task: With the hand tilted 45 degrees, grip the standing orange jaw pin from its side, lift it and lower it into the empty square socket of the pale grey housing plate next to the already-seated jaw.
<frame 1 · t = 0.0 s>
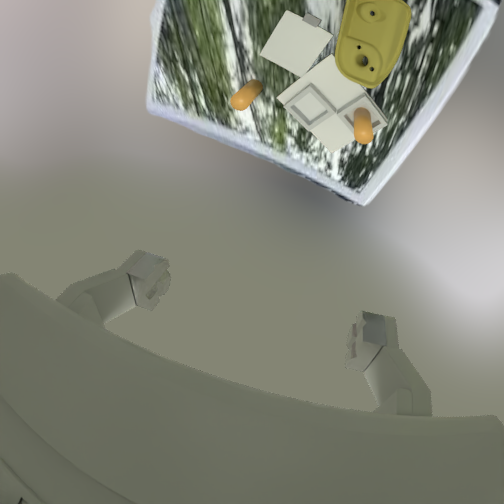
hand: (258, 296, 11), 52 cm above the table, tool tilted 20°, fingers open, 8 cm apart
housing: (332, 105, 50), on the table
jaw pin: (254, 86, 52), on the table
lid: (295, 43, 41), on the table
plastic component: (369, 33, 35), on the table
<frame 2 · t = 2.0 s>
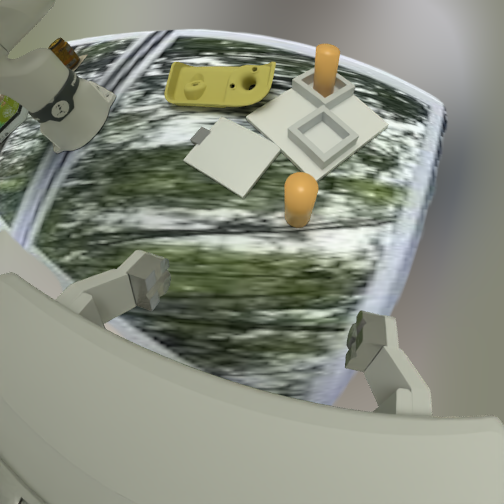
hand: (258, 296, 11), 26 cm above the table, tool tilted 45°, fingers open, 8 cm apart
housing: (319, 121, 41), on the table
condiment: (74, 64, 55), on the table
tea box: (16, 122, 55), on the table
jaw pin: (297, 215, 38), on the table
lid: (232, 155, 41), on the table
plastic component: (223, 93, 44), on the table
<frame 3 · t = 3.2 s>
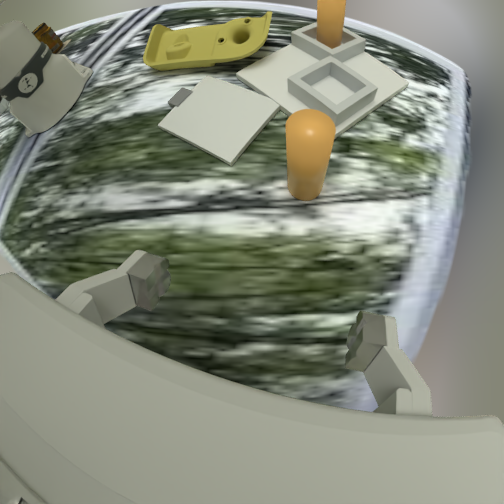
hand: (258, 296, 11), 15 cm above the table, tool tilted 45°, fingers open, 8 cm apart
housing: (326, 76, 30), on the table
condiment: (57, 50, 46), on the table
jaw pin: (304, 184, 27), on the table
lid: (218, 115, 31), on the table
plastic component: (211, 54, 34), on the table
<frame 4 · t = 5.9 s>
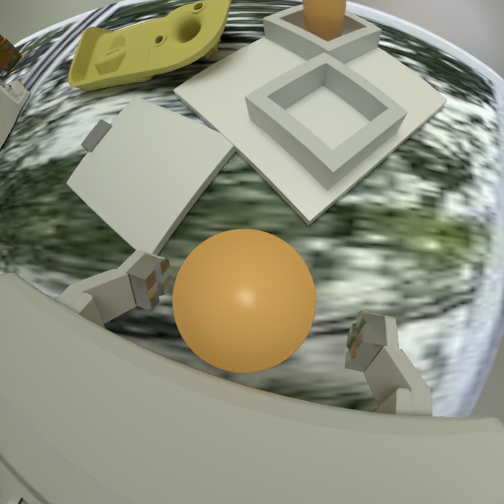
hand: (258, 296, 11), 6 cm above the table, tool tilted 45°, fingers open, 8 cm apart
housing: (318, 88, 19), on the table
condiment: (15, 63, 35), on the table
jaw pin: (267, 303, 16), on the table
lid: (141, 166, 19), on the table
plastic component: (156, 61, 23), on the table
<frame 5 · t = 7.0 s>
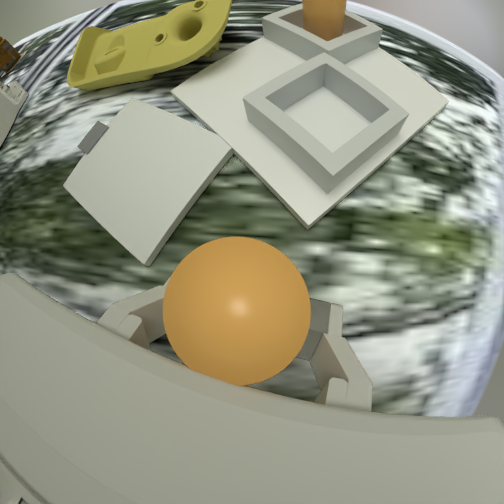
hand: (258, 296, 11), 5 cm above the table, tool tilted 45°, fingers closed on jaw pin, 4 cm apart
housing: (317, 88, 19), on the table
condiment: (14, 64, 35), on the table
jaw pin: (265, 309, 16), on the table, touching gripper
lid: (138, 168, 19), on the table
plastic component: (156, 60, 23), on the table
when the fingers open (8 cm above the table, at t = 11.9 s): jaw pin drops 1 cm, resting on housing.
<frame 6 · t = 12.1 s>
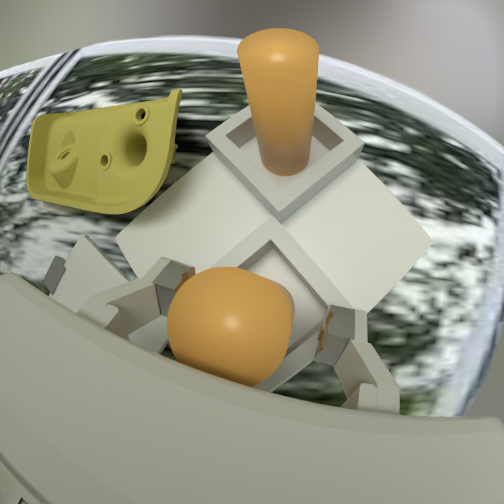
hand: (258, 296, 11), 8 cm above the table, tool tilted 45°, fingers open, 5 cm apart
housing: (269, 241, 19), on the table
jaw pin: (266, 308, 17), point 1 cm above the table, touching housing
lid: (98, 323, 20), on the table
plastic component: (112, 163, 23), on the table
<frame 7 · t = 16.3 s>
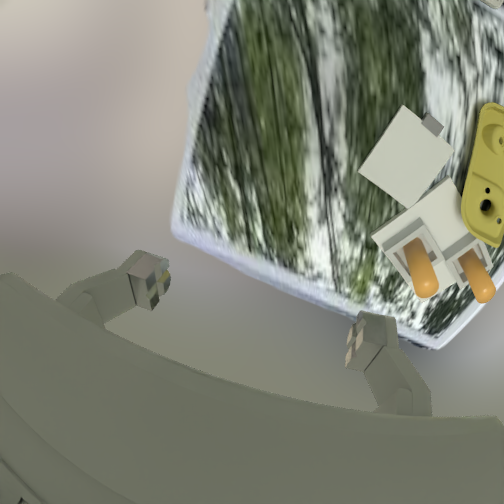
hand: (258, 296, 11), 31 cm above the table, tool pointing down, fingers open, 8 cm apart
housing: (435, 244, 38), on the table
jaw pin: (413, 246, 38), point 1 cm above the table, touching housing
lid: (407, 158, 32), on the table
plastic component: (488, 165, 28), on the table
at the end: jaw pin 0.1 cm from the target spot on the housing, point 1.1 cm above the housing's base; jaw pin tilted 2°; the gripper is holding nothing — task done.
